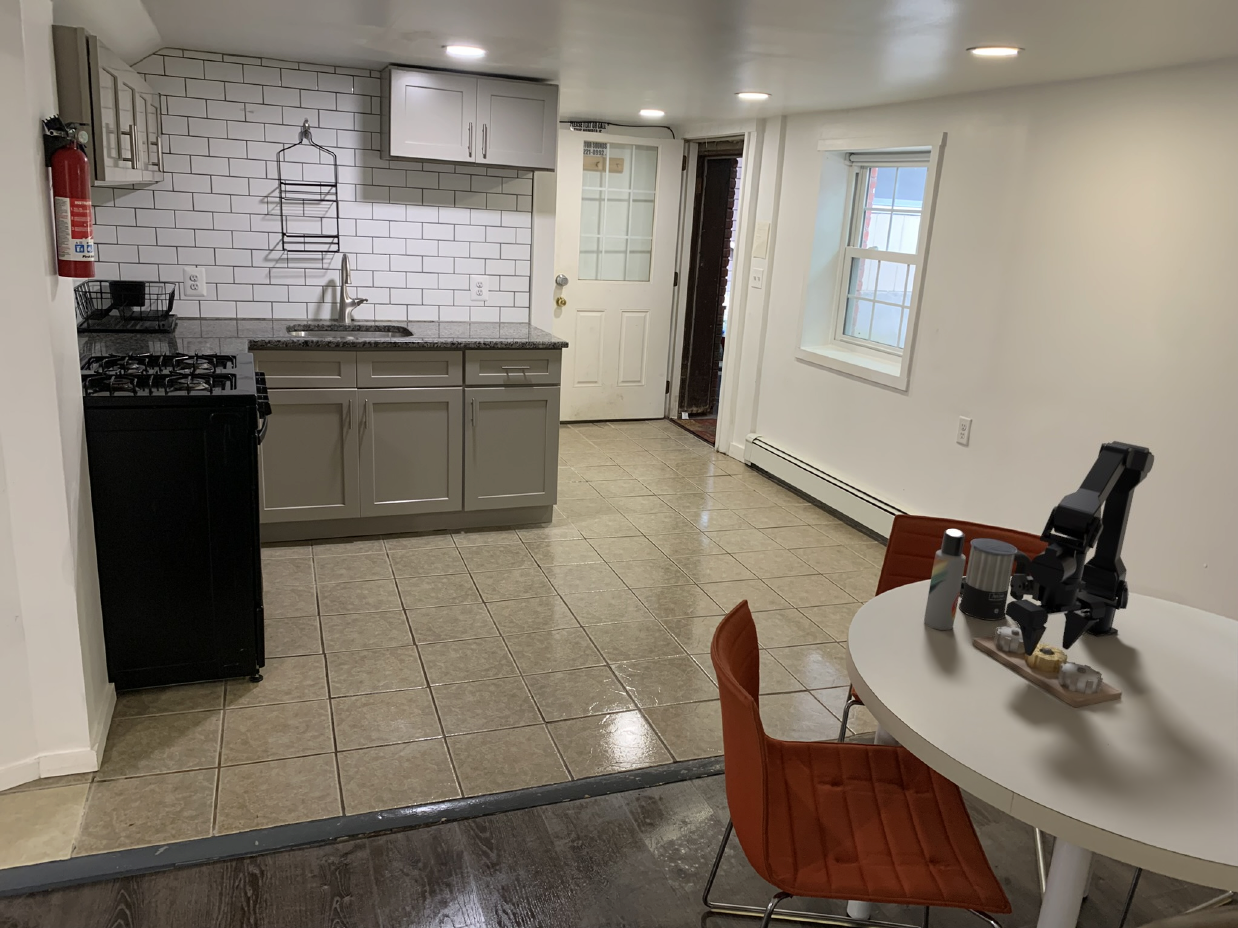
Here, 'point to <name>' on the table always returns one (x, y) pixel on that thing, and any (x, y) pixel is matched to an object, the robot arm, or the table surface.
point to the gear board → (1069, 684)
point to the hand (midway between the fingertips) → (1046, 651)
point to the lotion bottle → (946, 581)
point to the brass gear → (1046, 659)
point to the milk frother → (990, 578)
